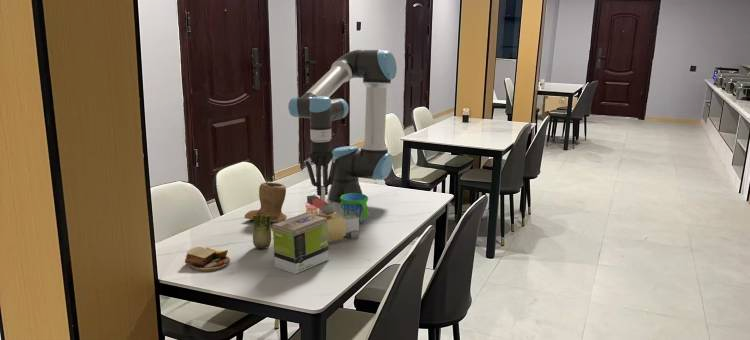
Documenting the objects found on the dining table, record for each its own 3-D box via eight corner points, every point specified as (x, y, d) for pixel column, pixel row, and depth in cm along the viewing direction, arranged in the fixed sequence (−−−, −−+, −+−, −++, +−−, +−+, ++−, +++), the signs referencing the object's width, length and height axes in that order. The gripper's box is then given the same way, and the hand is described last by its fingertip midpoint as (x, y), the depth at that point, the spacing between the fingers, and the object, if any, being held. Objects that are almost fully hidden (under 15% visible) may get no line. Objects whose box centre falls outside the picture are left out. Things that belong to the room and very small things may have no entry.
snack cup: (376, 225, 230) (376, 199, 228) (352, 229, 225) (352, 203, 223) (356, 214, 243) (356, 190, 241) (333, 218, 238) (332, 193, 236)
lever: (336, 213, 210) (336, 206, 210) (325, 215, 208) (325, 207, 207) (316, 201, 224) (316, 194, 224) (305, 203, 222) (305, 196, 221)
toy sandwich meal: (213, 275, 184) (212, 260, 183) (178, 268, 189) (177, 254, 188) (238, 261, 195) (237, 247, 194) (204, 254, 201) (203, 241, 199)
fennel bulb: (273, 247, 207) (272, 214, 204) (263, 251, 203) (262, 217, 200) (260, 244, 210) (258, 211, 207) (250, 248, 206) (249, 215, 203)
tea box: (307, 253, 201) (306, 211, 198) (329, 260, 195) (328, 217, 192) (273, 267, 190) (271, 222, 186) (295, 275, 184) (294, 229, 180)
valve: (296, 242, 211) (295, 215, 209) (351, 232, 222) (351, 206, 219) (304, 249, 205) (303, 220, 203) (360, 238, 216) (360, 210, 214)
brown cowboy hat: (292, 217, 239) (291, 181, 235) (278, 226, 228) (276, 188, 225) (259, 213, 244) (258, 177, 241) (243, 222, 233) (241, 184, 230)
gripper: (306, 143, 208) (308, 208, 214) (341, 140, 213) (342, 204, 218) (300, 139, 215) (302, 202, 220) (335, 137, 219) (336, 199, 225)
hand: (322, 203), depth 219 cm, fingers closed
